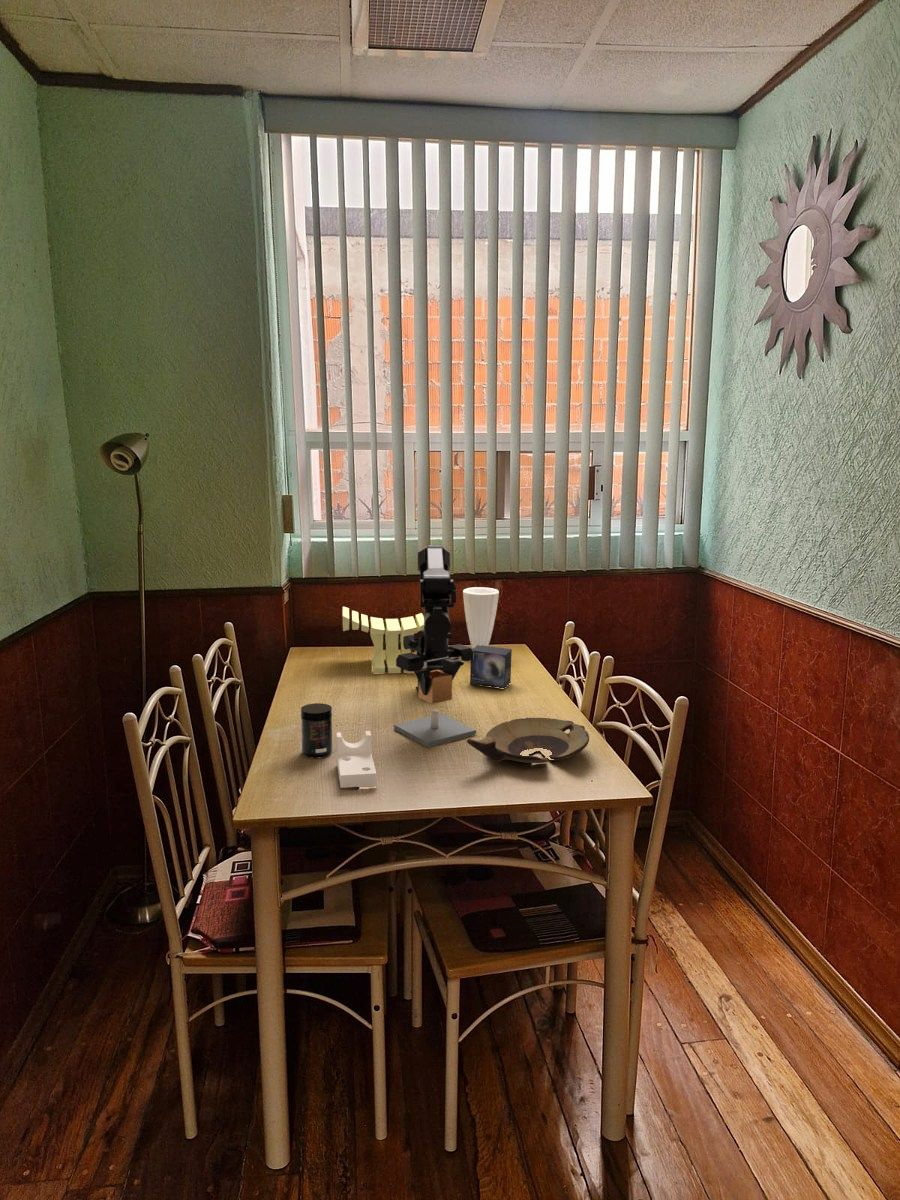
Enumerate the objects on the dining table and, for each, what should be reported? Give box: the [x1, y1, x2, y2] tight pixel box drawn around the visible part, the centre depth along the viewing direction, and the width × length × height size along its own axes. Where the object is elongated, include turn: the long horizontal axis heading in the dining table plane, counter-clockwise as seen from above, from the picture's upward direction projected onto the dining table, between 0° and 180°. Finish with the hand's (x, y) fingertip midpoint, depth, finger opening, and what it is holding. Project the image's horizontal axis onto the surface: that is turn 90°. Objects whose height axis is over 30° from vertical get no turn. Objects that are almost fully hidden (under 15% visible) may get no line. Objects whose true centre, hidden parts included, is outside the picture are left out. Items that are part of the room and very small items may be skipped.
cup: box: [462, 586, 500, 649], centre depth 257 cm, size 12×12×22 cm
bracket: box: [335, 730, 378, 789], centre depth 166 cm, size 13×7×8 cm, turn 11°
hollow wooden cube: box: [418, 670, 453, 705], centre depth 190 cm, size 6×6×6 cm
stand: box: [393, 709, 477, 748], centre depth 192 cm, size 14×14×5 cm
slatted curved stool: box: [342, 606, 424, 674], centre depth 245 cm, size 30×16×18 cm, turn 97°
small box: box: [469, 645, 513, 688], centre depth 229 cm, size 11×6×10 cm, turn 68°
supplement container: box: [300, 702, 333, 759], centre depth 178 cm, size 7×7×10 cm
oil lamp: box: [466, 717, 590, 764], centre depth 178 cm, size 22×30×8 cm
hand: (435, 692), depth 191 cm, fingers closed on hollow wooden cube, 6 cm apart
